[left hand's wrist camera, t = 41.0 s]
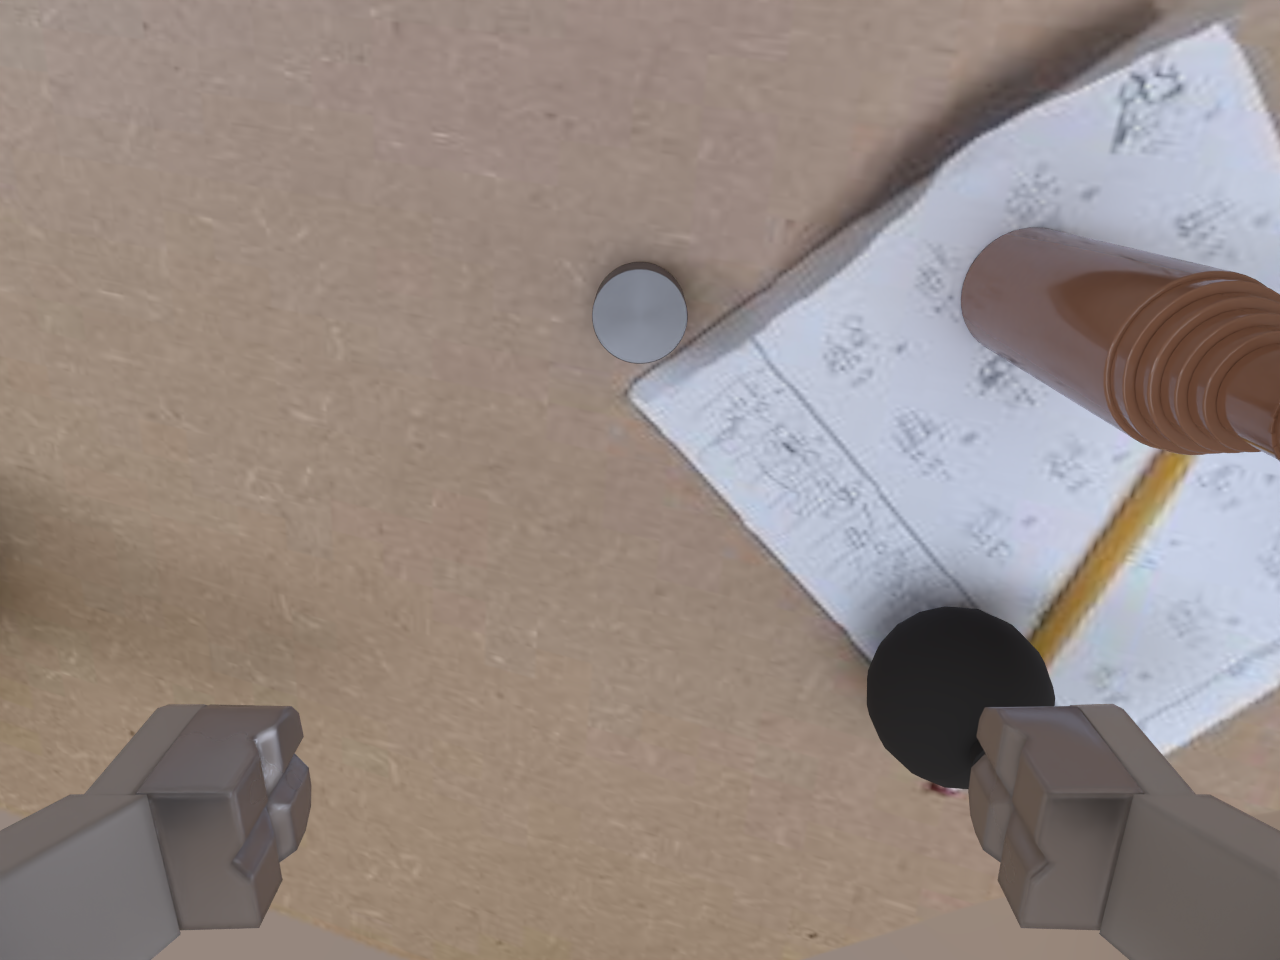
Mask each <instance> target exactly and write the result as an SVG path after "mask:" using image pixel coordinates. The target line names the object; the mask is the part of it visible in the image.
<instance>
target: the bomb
mask: <svg viewBox="0 0 1280 960" xmlns="http://www.w3.org/2000/svg"><path fill="white" fill-rule="evenodd" d="M1054 705H1055V695H1054V690H1053V686H1052V683H1051V680H1050V677H1049V674H1048V671H1047V668H1046V665H1045V663H1044V661H1043V659H1042V657H1041V655H1040V654H1039V652H1038V651H1037V650H1036V649H1035V648H1034V647H1033V646H1032V645H1031V644H1030V643H1029V642H1028V640H1027V639H1026V638H1025V637H1024V636H1023V635H1022V634H1021V633H1020V632H1019V631H1018V630H1017V629H1016V628H1015V627H1014V626H1013V625H1011V624H1009V623H1007V622H1005V621H1003V620H1001V619H999V618H996V617H994V616H992V615H990V614H988V613H985V612H983V611H981V610H979V609H969V608H957V607H941V608H936V609H932V610H927V611H923V612H919V613H917V614H916V615H914V616H912V617H910V618H909V619H907V620H905V621H903V622H901V623H900V624H898V625H897V626H896V627H895V628H894V629H893V630H892V631H891V632H890V633H889V634H888V636H887V637H886V638H885V639H884V640H883V641H882V642H881V643H880V645H879V647H878V649H877V651H876V653H875V656H874V658H873V660H872V663H871V665H870V667H869V670H868V676H867V707H868V711H869V715H870V718H871V720H872V722H873V725H874V727H875V729H876V731H877V734H878V736H879V738H880V740H881V742H882V743H883V745H884V747H885V748H886V749H887V750H888V751H889V752H890V753H891V754H892V755H893V756H894V757H895V758H896V759H897V760H898V761H899V762H901V763H902V764H903V765H904V766H905V767H906V768H907V769H908V770H909V771H910V772H911V773H913V774H915V775H917V776H919V777H921V778H923V779H926V780H928V781H930V782H933V783H935V784H938V785H940V786H943V787H947V788H960V789H969V782H970V774H971V768H972V767H973V766H974V765H975V764H976V762H977V761H978V760H979V759H980V758H981V757H982V756H983V755H984V754H985V751H984V750H983V748H982V746H981V744H980V742H979V740H978V739H977V737H976V736H977V730H978V724H979V719H980V717H981V715H982V713H983V710H984V708H985V707H1051V706H1054Z"/></svg>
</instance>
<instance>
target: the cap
mask: <svg viewBox="0 0 1280 960" xmlns="http://www.w3.org/2000/svg"><path fill="white" fill-rule="evenodd" d="M592 321H593V327H594V330H595V333H596V336H597V338H598V340H599V341H600V343H601V344H602V345H603V347H604V348H605V349H606V350H607V351H608V352H609V353H611V354H612V355H613V356H615V357H617V358H618V359H621V360H623V361H626V362H630V363H636V364H644V363H650V362H654V361H657V360H659V359H661V358H663V357H665V356H666V355H668V354H669V353H670V352H672V351H673V350H674V349H675V348H676V346H677V345H678V344H679V342H680V341H681V339H682V337H683V335H684V333H685V329H686V326H687V307H686V303H685V299H684V295H683V292H682V290H681V287H680V286H679V284H678V282H677V281H676V279H675V278H674V277H673V276H672V275H671V274H670V273H669V272H667V271H666V270H665V269H663V268H661V267H659V266H657V265H655V264H651V263H646V262H634V263H629V264H625V265H623V266H620V267H618V268H617V269H615V270H614V271H612V272H611V273H610V274H609V275H608V276H607V277H606V278H605V279H604V280H603V282H602V283H601V285H600V287H599V289H598V292H597V294H596V298H595V302H594V306H593V312H592Z"/></svg>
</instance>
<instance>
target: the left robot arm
mask: <svg viewBox="0 0 1280 960" xmlns="http://www.w3.org/2000/svg"><path fill="white" fill-rule="evenodd" d="M303 737H304V736H303V731H302V726H301V721H300V716H299V713H298V712H297V711H296V710H295V709H294V708H293V707H292V706H254V705H204V704H169V705H166V706H163V707H160V708H157V709H156V711H155V712H154V713H153V714H152V715H151V716H150V717H149V719H148V720H147V721H146V722H145V723H144V725H143V726H142V727H141V728H140V729H139V730H138V732H137V733H136V734H135V735H134V736H133V737H132V739H131V740H130V741H129V742H128V743H127V744H126V746H125V747H124V748H123V749H122V750H121V752H120V753H119V754H118V755H117V756H116V757H115V759H114V760H113V761H112V762H111V763H110V764H109V766H108V767H107V768H106V769H105V770H104V771H103V773H102V774H101V775H100V776H99V777H98V779H97V780H96V781H95V782H94V783H93V784H92V786H91V787H90V788H89V789H88V790H87V791H86V793H85V794H80V795H68V796H66V797H65V798H63V799H61V800H59V801H57V802H55V803H53V804H51V805H49V806H47V807H45V808H43V809H41V810H39V811H37V812H36V813H34V814H32V815H30V816H28V817H26V818H24V819H22V820H20V821H18V822H16V823H14V824H12V825H10V826H8V827H7V828H5V829H3V830H1V831H0V960H151V959H152V958H154V957H155V956H156V955H157V954H158V953H159V952H161V951H162V950H163V949H164V948H165V947H166V946H168V945H169V944H170V943H171V942H172V941H173V940H175V939H176V938H177V937H178V936H179V935H180V930H203V929H239V928H259V927H260V925H261V923H262V921H263V919H264V917H265V915H266V913H267V911H268V909H269V907H270V905H271V902H272V900H273V898H274V896H275V894H276V892H277V890H278V888H279V886H280V884H281V882H282V875H281V869H280V864H279V862H281V861H282V860H284V859H285V858H286V857H288V856H289V855H291V854H292V853H293V852H295V851H296V850H297V849H298V846H299V844H300V842H301V840H302V837H303V835H304V833H305V831H306V827H307V822H308V817H309V813H310V808H311V780H310V773H309V768H308V767H307V766H306V765H305V764H304V763H303V761H302V760H301V759H300V758H299V757H298V756H297V755H296V754H295V751H296V750H297V748H298V746H299V744H300V742H301V740H302V739H303ZM976 737H977V739H978V740H979V742H980V744H981V746H982V748H983V750H984V751H985V754H984V755H983V756H982V757H981V758H980V759H979V760H978V761H977V762H976V764H975V765H974V766H973V767H972V768H971V774H970V782H969V790H968V793H969V805H970V816H971V819H972V823H973V826H974V830H975V833H976V835H977V838H978V840H979V842H980V844H981V846H982V849H983V850H984V851H985V852H987V853H988V854H989V855H991V856H992V857H994V858H995V859H996V860H998V861H999V862H1001V864H1000V869H999V875H998V882H999V884H1000V886H1001V888H1002V890H1003V892H1004V894H1005V896H1006V898H1007V900H1008V902H1009V904H1010V906H1011V909H1012V911H1013V913H1014V915H1015V917H1016V919H1017V921H1018V923H1019V925H1020V927H1021V928H1040V929H1075V930H1100V933H1099V934H1100V935H1101V936H1102V937H1104V938H1105V939H1106V940H1107V941H1108V942H1109V943H1111V944H1112V945H1113V946H1114V947H1115V948H1116V949H1118V950H1119V951H1120V952H1121V953H1122V954H1123V955H1125V956H1126V957H1127V958H1128V959H1129V960H1280V831H1279V830H1277V829H1275V828H1273V827H1271V826H1269V825H1267V824H1266V823H1264V822H1262V821H1260V820H1258V819H1256V818H1254V817H1252V816H1250V815H1248V814H1246V813H1244V812H1242V811H1241V810H1239V809H1237V808H1235V807H1233V806H1231V805H1229V804H1227V803H1225V802H1223V801H1221V800H1219V799H1217V798H1215V797H1214V796H1212V795H1200V794H1195V793H1194V791H1193V790H1192V789H1191V788H1190V787H1189V786H1188V784H1187V783H1186V782H1185V781H1184V780H1183V779H1182V777H1181V776H1180V775H1179V774H1178V773H1177V772H1176V770H1175V769H1174V768H1173V767H1172V766H1171V765H1170V763H1169V762H1168V761H1167V760H1166V759H1165V757H1164V756H1163V755H1162V754H1161V753H1160V752H1159V750H1158V749H1157V748H1156V747H1155V746H1154V745H1153V743H1152V742H1151V741H1150V740H1149V739H1148V738H1147V736H1146V735H1145V734H1144V733H1143V732H1142V731H1141V729H1140V728H1139V727H1138V726H1137V725H1136V723H1135V722H1134V721H1133V720H1132V719H1131V718H1130V716H1129V715H1128V714H1127V713H1126V712H1125V711H1124V709H1122V708H1120V707H1118V706H1116V705H1114V704H1092V705H1070V706H1051V707H985V708H984V710H983V713H982V715H981V717H980V719H979V724H978V730H977V736H976Z"/></svg>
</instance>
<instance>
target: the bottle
mask: <svg viewBox="0 0 1280 960" xmlns="http://www.w3.org/2000/svg"><path fill="white" fill-rule="evenodd" d="M961 308H962V314H963V317H964V321H965V323H966V325H967V327H968V329H969V331H970V332H971V334H972V335H973V337H974V338H975V339H976V340H977V341H978V342H979V343H981V344H982V345H983V346H985V347H986V348H988V349H989V350H991V351H993V352H994V353H996V354H997V355H999V356H1001V357H1002V358H1004V359H1006V360H1007V361H1009V362H1010V363H1012V364H1014V365H1015V366H1017V367H1019V368H1020V369H1022V370H1023V371H1025V372H1027V373H1028V374H1030V375H1031V376H1033V377H1035V378H1036V379H1038V380H1040V381H1041V382H1043V383H1044V384H1046V385H1048V386H1049V387H1051V388H1052V389H1054V390H1056V391H1057V392H1059V393H1061V394H1062V395H1064V396H1065V397H1067V398H1069V399H1070V400H1072V401H1073V402H1075V403H1077V404H1078V405H1080V406H1082V407H1083V408H1085V409H1086V410H1088V411H1090V412H1091V413H1093V414H1095V415H1096V416H1098V417H1099V418H1101V419H1103V420H1104V421H1106V422H1107V423H1109V424H1111V425H1112V426H1114V427H1116V428H1117V429H1119V430H1120V431H1122V432H1124V433H1125V434H1127V435H1128V436H1130V437H1132V438H1133V439H1135V440H1137V441H1139V442H1140V443H1142V444H1145V445H1148V446H1150V447H1153V448H1158V449H1162V450H1166V451H1169V452H1173V453H1178V454H1186V455H1203V454H1213V453H1240V452H1260V451H1262V452H1264V453H1266V454H1268V455H1270V456H1272V457H1274V458H1276V459H1278V460H1279V461H1280V294H1278V293H1276V292H1275V291H1273V290H1272V289H1270V288H1267V287H1266V286H1265V285H1263V284H1262V283H1260V282H1259V281H1257V280H1255V279H1253V278H1251V277H1249V276H1246V275H1243V274H1239V273H1235V272H1231V271H1227V270H1223V269H1218V268H1214V267H1210V266H1206V265H1201V264H1197V263H1193V262H1188V261H1184V260H1180V259H1176V258H1171V257H1167V256H1163V255H1158V254H1154V253H1150V252H1146V251H1141V250H1137V249H1133V248H1128V247H1124V246H1120V245H1116V244H1111V243H1107V242H1103V241H1099V240H1094V239H1090V238H1086V237H1081V236H1077V235H1073V234H1069V233H1064V232H1060V231H1056V230H1051V229H1047V228H1039V227H1032V228H1024V229H1019V230H1015V231H1012V232H1010V233H1007V234H1005V235H1003V236H1001V237H1000V238H998V239H996V240H995V241H993V242H992V243H991V244H989V245H988V246H987V247H986V248H985V249H984V250H983V251H982V252H981V253H980V254H979V255H978V257H977V258H976V259H975V261H974V262H973V264H972V265H971V267H970V269H969V271H968V273H967V275H966V278H965V281H964V284H963V289H962V296H961Z"/></svg>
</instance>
